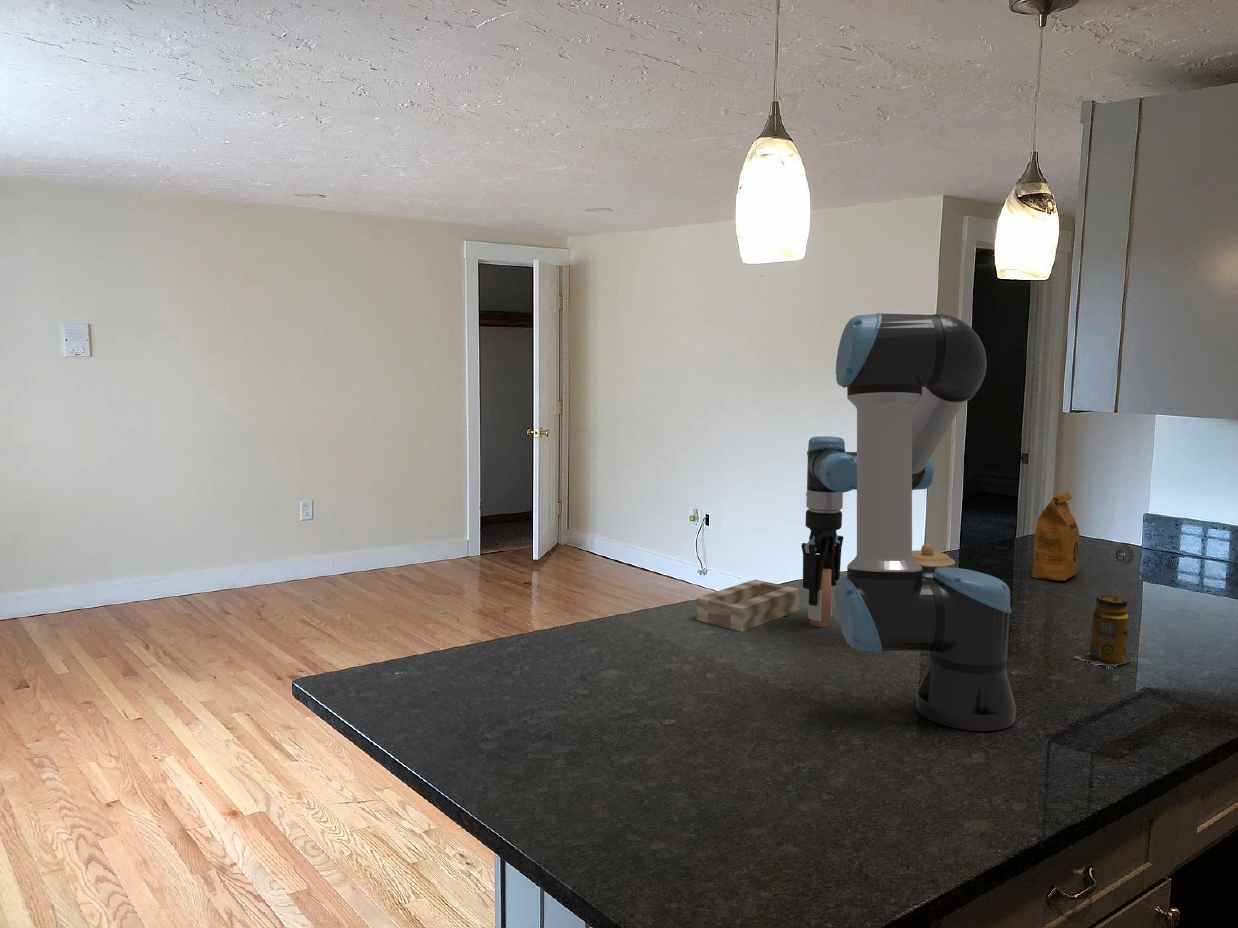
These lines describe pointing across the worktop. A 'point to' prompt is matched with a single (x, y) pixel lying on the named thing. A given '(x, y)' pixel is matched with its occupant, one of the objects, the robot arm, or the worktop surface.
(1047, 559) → the coffee package
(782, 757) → the worktop surface
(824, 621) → the peg
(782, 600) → the socket block
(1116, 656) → the condiment
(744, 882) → the worktop surface
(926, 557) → the canister
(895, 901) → the worktop surface
